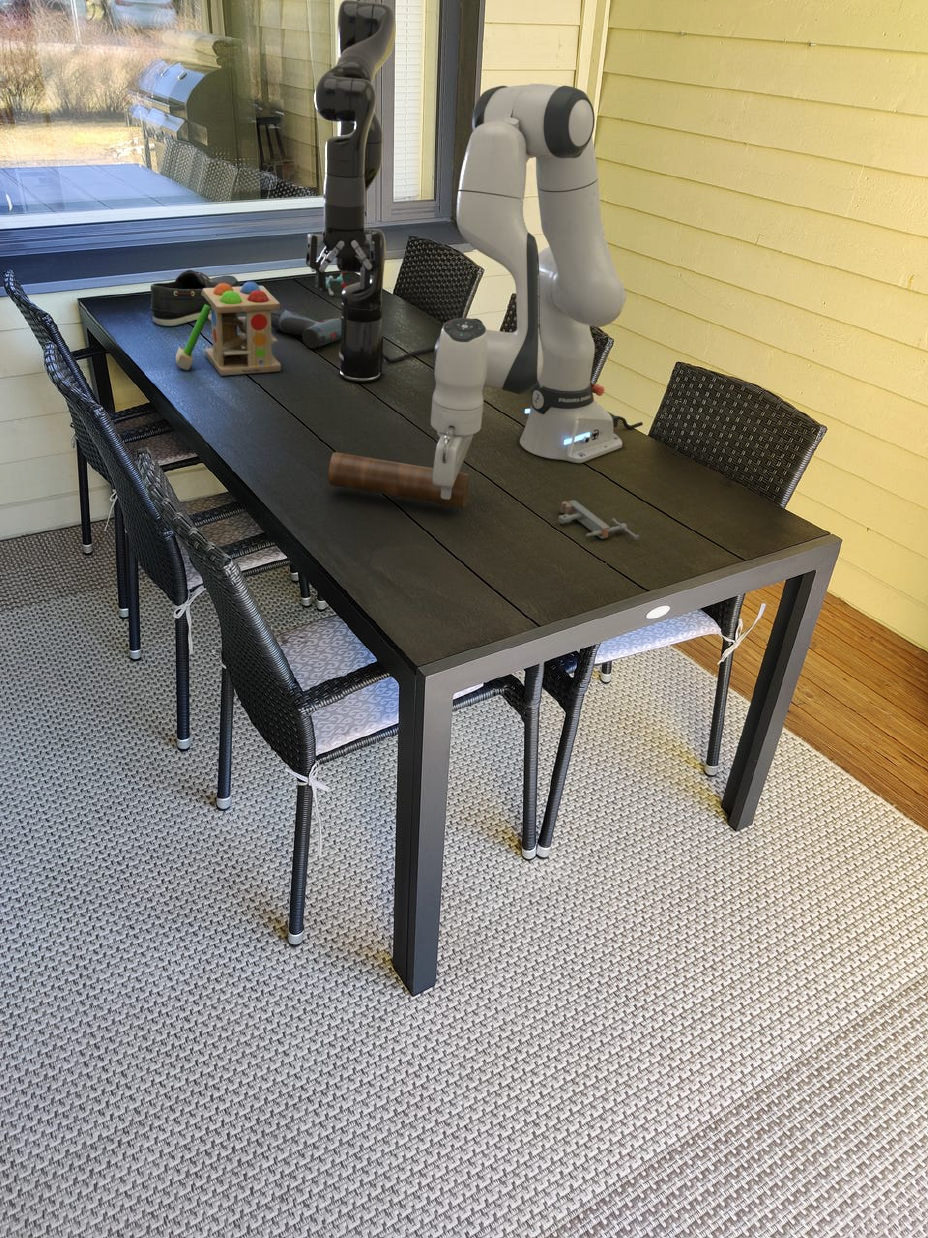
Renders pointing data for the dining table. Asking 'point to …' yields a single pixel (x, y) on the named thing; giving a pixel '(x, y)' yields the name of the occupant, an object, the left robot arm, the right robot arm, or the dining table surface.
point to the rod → (393, 479)
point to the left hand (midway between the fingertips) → (343, 289)
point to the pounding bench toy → (229, 347)
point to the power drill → (307, 327)
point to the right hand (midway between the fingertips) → (449, 488)
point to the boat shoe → (183, 297)
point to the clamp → (582, 515)
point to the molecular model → (330, 279)
